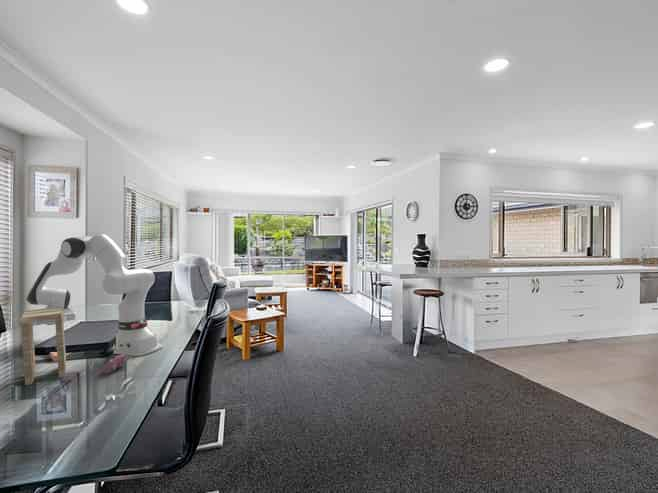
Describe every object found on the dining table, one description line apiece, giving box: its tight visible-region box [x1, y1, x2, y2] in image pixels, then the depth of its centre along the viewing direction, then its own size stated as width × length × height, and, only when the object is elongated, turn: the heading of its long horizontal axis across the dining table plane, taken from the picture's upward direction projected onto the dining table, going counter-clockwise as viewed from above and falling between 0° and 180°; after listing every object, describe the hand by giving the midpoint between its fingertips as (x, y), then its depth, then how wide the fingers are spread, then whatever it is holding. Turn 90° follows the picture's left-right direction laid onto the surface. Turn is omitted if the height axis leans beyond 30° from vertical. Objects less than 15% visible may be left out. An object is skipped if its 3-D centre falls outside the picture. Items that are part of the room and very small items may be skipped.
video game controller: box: [100, 354, 129, 374], centre depth 140 cm, size 10×5×7 cm, turn 170°
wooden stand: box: [19, 306, 67, 386], centre depth 135 cm, size 16×12×26 cm
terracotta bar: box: [49, 352, 58, 363], centre depth 158 cm, size 22×3×3 cm, turn 51°
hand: (50, 321), depth 165 cm, fingers open, 8 cm apart
